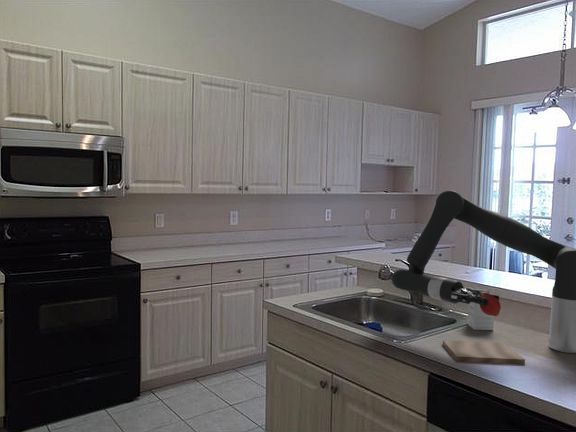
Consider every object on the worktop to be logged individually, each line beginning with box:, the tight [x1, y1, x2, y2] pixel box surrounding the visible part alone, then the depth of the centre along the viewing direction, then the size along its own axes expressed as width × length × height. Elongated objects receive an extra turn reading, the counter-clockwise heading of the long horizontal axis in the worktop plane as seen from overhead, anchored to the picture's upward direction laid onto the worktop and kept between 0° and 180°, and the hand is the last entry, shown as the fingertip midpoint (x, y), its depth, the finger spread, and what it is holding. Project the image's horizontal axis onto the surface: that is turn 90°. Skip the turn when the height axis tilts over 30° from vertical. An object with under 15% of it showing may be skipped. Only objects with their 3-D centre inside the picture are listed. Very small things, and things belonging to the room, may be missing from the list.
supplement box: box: [466, 302, 495, 331], centre depth 179 cm, size 7×7×13 cm
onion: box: [480, 293, 502, 317], centre depth 147 cm, size 6×6×8 cm
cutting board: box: [442, 339, 526, 365], centre depth 150 cm, size 20×15×2 cm
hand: (492, 300), depth 146 cm, fingers closed on onion, 5 cm apart
